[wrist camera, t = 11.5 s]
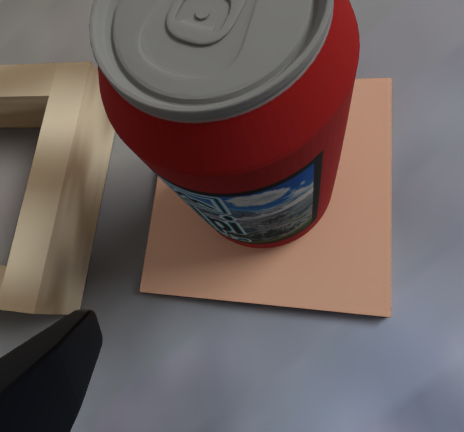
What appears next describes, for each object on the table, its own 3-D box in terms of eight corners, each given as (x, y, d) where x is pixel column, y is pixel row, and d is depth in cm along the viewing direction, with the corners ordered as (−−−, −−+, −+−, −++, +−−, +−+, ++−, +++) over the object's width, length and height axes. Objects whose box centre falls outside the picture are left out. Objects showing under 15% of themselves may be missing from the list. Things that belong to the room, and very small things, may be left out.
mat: (388, 317, 17) (391, 317, 17) (144, 292, 20) (139, 291, 19) (389, 84, 20) (391, 78, 20) (176, 89, 23) (172, 83, 22)
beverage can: (179, 220, 20) (6, 88, 8) (234, 111, 21) (146, -138, 10) (300, 275, 18) (288, 198, 7) (353, 151, 19) (423, -100, 8)
